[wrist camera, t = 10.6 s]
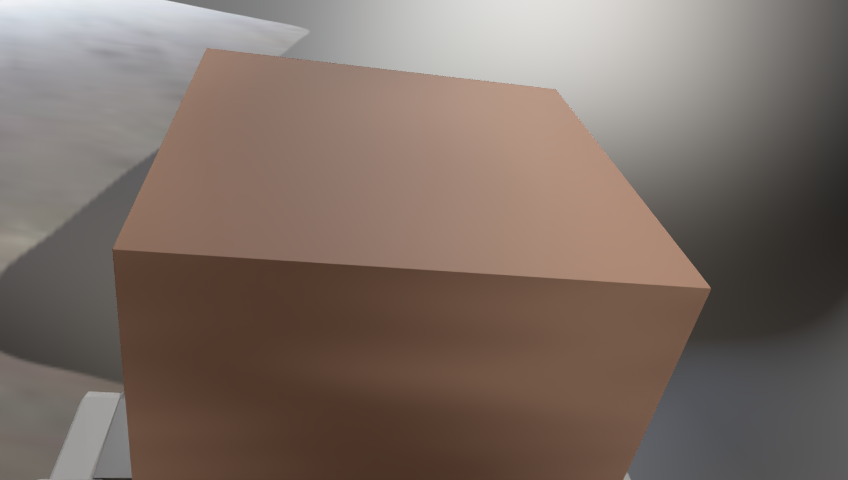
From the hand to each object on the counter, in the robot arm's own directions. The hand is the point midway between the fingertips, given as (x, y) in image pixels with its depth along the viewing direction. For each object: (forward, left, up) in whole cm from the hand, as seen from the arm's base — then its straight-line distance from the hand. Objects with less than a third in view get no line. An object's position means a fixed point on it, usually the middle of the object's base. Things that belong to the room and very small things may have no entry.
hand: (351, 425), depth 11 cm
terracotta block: (0, +1, -6) cm, 7 cm away
